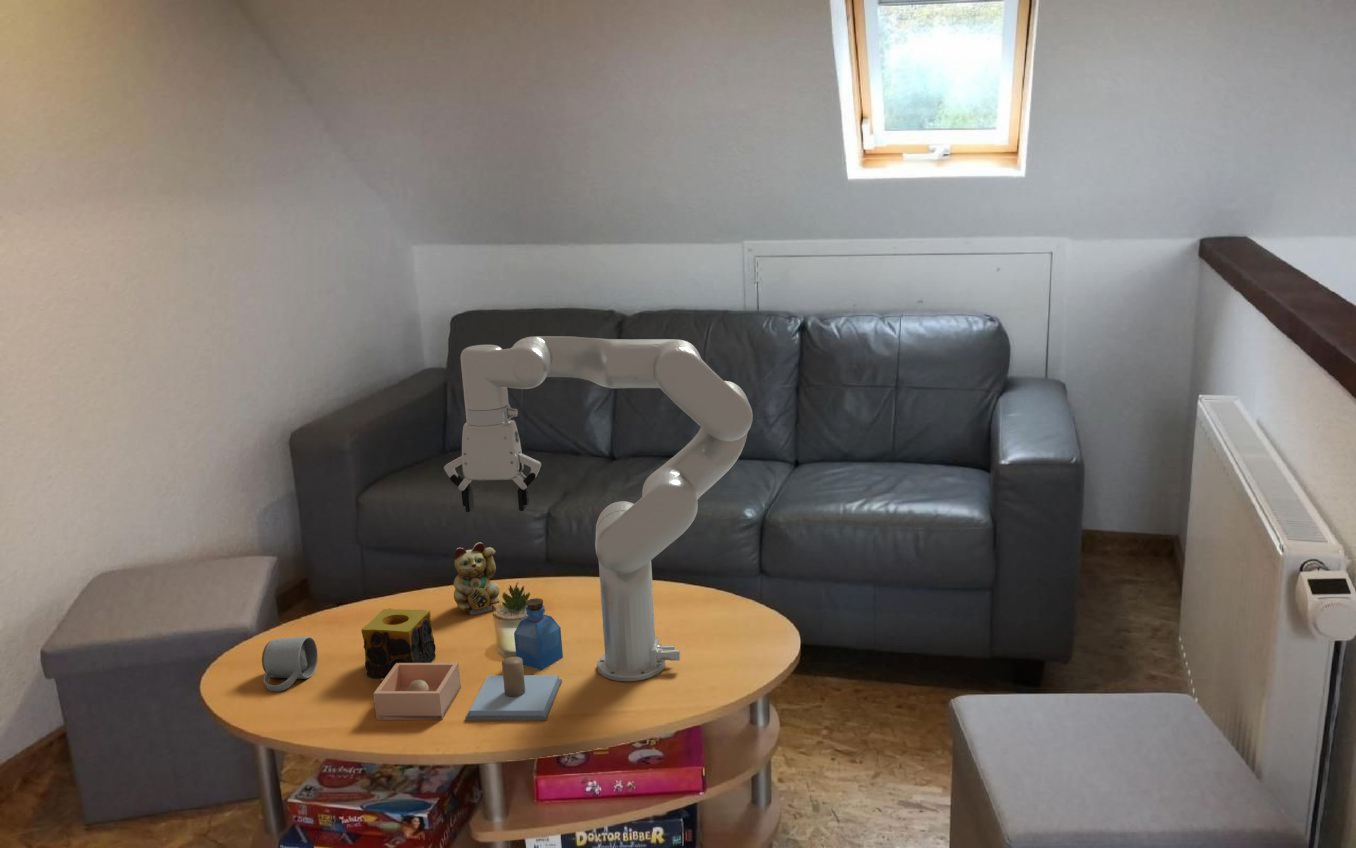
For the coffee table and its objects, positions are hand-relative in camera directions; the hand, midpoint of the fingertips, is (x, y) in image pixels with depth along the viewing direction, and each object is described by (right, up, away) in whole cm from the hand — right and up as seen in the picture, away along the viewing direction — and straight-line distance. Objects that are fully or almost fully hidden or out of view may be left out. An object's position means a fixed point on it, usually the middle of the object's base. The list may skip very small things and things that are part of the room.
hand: (496, 509), depth 200 cm
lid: (+4, -33, -2) cm, 33 cm away
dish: (-13, -34, -1) cm, 37 cm away
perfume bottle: (+6, -30, +13) cm, 33 cm away
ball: (-13, -32, -2) cm, 35 cm away
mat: (+4, -34, -2) cm, 34 cm away
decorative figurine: (-10, -24, +39) cm, 47 cm away
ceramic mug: (-41, -33, +11) cm, 53 cm away
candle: (-20, -31, +13) cm, 39 cm away
